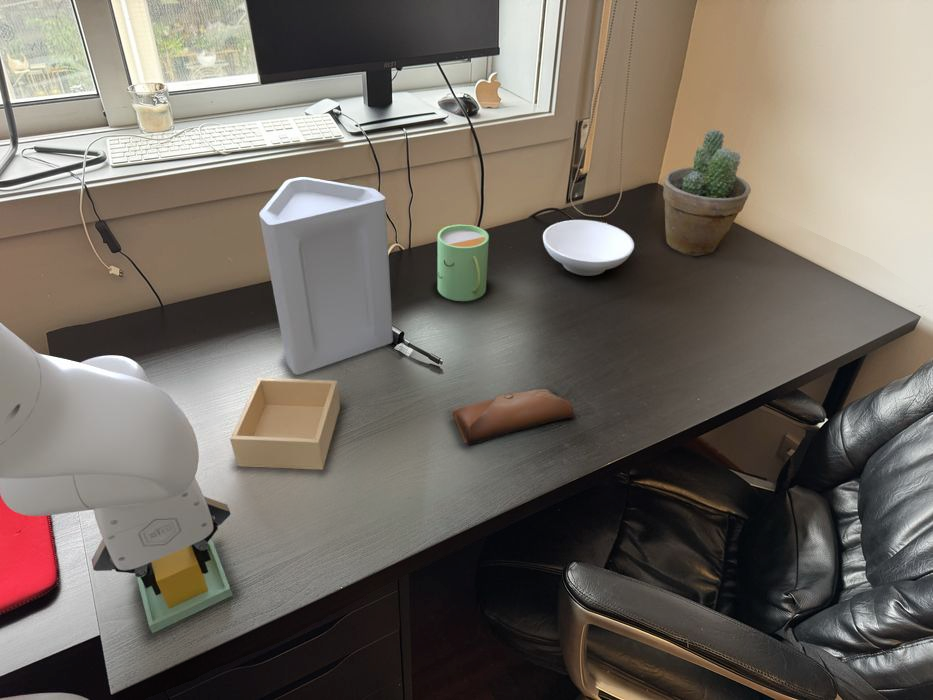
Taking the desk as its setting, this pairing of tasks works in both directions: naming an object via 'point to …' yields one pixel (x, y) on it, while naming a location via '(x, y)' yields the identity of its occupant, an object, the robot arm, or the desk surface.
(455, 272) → the mug
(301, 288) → the white triangular prism tub
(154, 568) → the mustard box
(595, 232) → the bowl
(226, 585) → the green tray
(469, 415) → the sunglasses case
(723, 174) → the potted plant
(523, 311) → the desk surface
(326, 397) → the sand bin
